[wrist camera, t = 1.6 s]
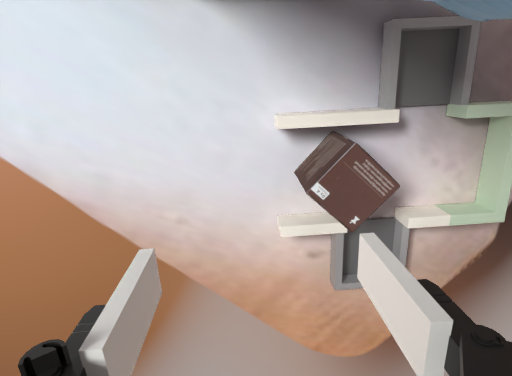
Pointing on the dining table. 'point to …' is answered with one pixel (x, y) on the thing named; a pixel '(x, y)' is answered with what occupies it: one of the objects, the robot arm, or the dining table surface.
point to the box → (345, 180)
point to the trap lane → (398, 95)
